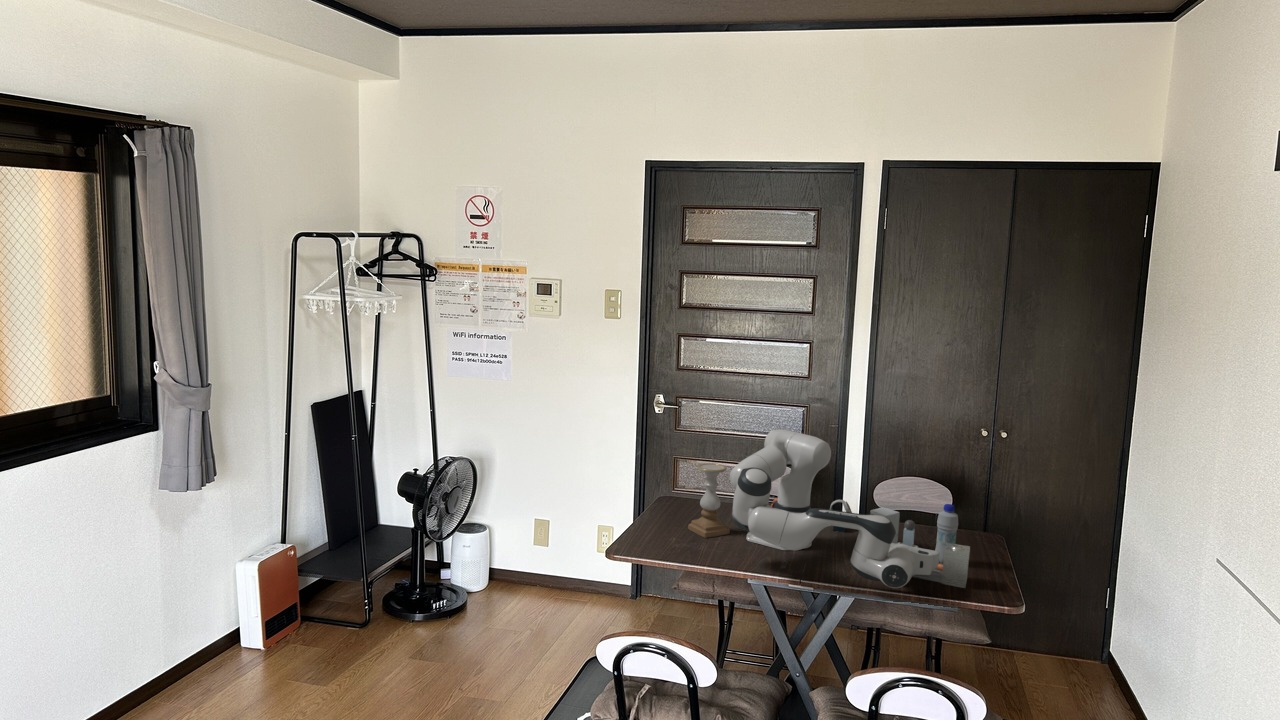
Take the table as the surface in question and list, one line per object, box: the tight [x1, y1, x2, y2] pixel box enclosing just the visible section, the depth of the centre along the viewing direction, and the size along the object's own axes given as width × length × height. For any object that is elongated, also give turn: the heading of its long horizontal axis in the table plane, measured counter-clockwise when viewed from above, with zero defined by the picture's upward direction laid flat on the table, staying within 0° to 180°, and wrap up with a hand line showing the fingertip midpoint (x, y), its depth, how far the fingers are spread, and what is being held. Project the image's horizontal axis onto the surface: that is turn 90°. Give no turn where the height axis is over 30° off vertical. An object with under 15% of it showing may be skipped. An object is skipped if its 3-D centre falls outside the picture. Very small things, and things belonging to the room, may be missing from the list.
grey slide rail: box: [911, 543, 971, 589], centre depth 270 cm, size 30×8×11 cm, turn 65°
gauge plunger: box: [934, 563, 943, 571], centre depth 266 cm, size 7×2×2 cm, turn 65°
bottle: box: [934, 503, 959, 564], centre depth 282 cm, size 7×7×20 cm
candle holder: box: [687, 462, 730, 539], centre depth 303 cm, size 11×11×24 cm
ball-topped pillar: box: [902, 519, 916, 576], centre depth 269 cm, size 8×6×17 cm
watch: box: [829, 499, 853, 533], centre depth 312 cm, size 6×8×11 cm
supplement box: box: [869, 506, 900, 544], centre depth 296 cm, size 7×7×13 cm
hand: (908, 546), depth 270 cm, fingers closed on ball-topped pillar, 3 cm apart
